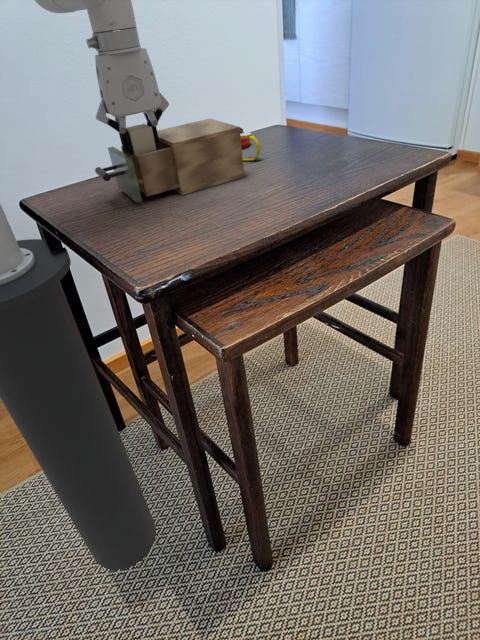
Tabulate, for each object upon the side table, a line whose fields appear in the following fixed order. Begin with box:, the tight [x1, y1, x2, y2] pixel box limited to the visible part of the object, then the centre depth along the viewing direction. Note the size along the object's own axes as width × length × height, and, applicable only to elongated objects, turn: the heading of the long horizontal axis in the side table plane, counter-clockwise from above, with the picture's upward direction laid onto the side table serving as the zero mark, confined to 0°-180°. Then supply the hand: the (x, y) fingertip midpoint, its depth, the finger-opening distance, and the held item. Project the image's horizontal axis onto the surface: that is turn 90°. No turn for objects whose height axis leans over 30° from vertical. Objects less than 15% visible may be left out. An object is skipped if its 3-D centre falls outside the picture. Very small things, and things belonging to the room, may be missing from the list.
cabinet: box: [157, 118, 245, 196], centre depth 95 cm, size 15×13×10 cm
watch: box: [240, 132, 261, 162], centre depth 103 cm, size 6×3×6 cm, turn 64°
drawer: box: [94, 141, 179, 203], centre depth 90 cm, size 18×12×8 cm
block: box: [126, 123, 156, 156], centre depth 87 cm, size 4×4×4 cm
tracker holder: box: [231, 123, 251, 149], centre depth 117 cm, size 12×4×10 cm
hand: (142, 149), depth 89 cm, fingers closed on block, 4 cm apart
